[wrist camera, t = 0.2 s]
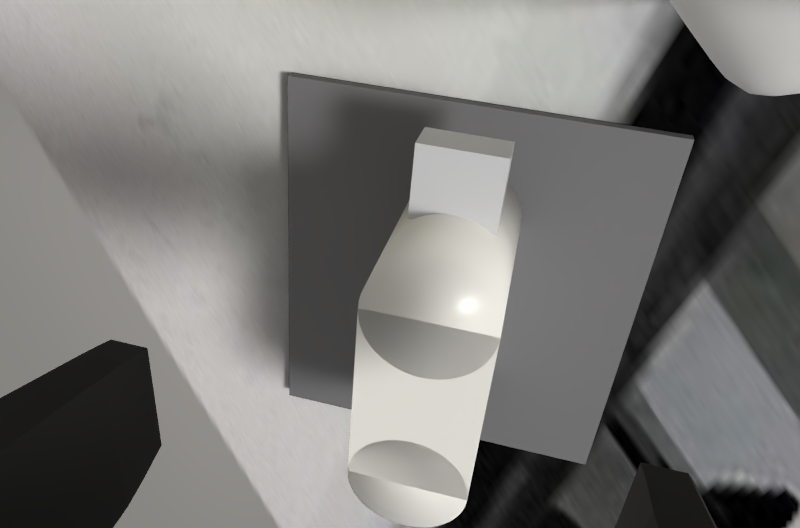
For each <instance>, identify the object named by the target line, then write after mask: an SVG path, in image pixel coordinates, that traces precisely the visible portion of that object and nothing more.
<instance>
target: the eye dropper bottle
mask: <svg viewBox="0 0 800 528" xmlns="http://www.w3.org/2000/svg"><path fill="white" fill-rule="evenodd" d="M669 1H670V2H671V4H672V6H673V7H674V8H675V10H676V11H677V13H678V14H679V16H680V17H681V18H682V20H683V21H684V23H685V24H686V26H687V27H688V28H689V30H690V31H691V33H692V34H693V35H694V37H695V38H696V40H697V41H698V43H699V44H700V45H701V47H702V48H703V50H704V51H705V52H706V54H707V55H708V56H709V58H710V59H711V61H712V62H713V63H714V64H715V66H716V67H717V68H718V69H719V71H720V72H721V73H722V74H723V76H724V77H725V78H726V79H728V80H729V81H731V82H732V83H734V84H735V85H737V86H738V87H740V88H741V89H743V90H744V91H746V92H748V93H749V94H758V95H768V96H781V95H789V94H797V93H800V0H669Z"/></svg>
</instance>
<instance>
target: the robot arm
mask: <svg viewBox="0 0 800 528" xmlns="http://www.w3.org/2000/svg"><path fill="white" fill-rule="evenodd" d="M160 447H161V439H160V432H159V425H158V419H157V412H156V404H155V397H154V391H153V384H152V377H151V370H150V363H149V356H148V351H147V348H144V347H140V346H136V345H131V344H127V343H123V342H119V341H114V340H109V341H107V342H105V343H103V344H101V345H99V346H97V347H95V348H93V349H91V350H89V351H87V352H85V353H83V354H81V355H79V356H78V357H76V358H74V359H72V360H70V361H69V362H66V363H64V364H63V365H61V366H59V367H57V368H56V369H53V370H52V371H50V372H48V373H46V374H44V375H42V376H41V377H39V378H37V379H35V380H33V381H32V382H29V383H28V384H26V385H24V386H22V387H20V388H18V389H17V390H15V391H13V392H11V393H9V394H7V395H5V396H3V397H2V398H0V528H113V527H114V525H115V524H116V523H117V521H118V520H119V518H120V517H121V515H122V514H123V513H124V511H125V510H126V508H127V507H128V505H129V503H130V502H131V500H132V498H133V496H134V495H135V493H136V491H137V489H138V488H139V486H140V484H141V482H142V481H143V479H144V477H145V475H146V473H147V471H148V470H149V468H150V466H151V464H152V462H153V460H154V458H155V456H156V454H157V453H158V451H159V449H160ZM615 528H717V527H716V525H715V523H714V521H713V519H712V517H711V515H710V513H709V511H708V509H707V507H706V505H705V503H704V501H703V499H702V497H701V495H700V493H699V491H698V489H697V487H696V485H695V483H694V481H693V480H692V478H691V477H690V475H689V474H688V473H684V472H680V471H675V470H671V469H667V468H662V467H658V466H654V465H649V464H645V463H640V466H639V468H638V471H637V473H636V476H635V478H634V481H633V483H632V486H631V488H630V491H629V493H628V496H627V499H626V501H625V504H624V506H623V509H622V511H621V514H620V516H619V519H618V521H617V524H616V526H615Z"/></svg>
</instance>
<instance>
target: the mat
mask: <svg viewBox="0 0 800 528" xmlns="http://www.w3.org/2000/svg"><path fill="white" fill-rule="evenodd" d="M425 127H429V128H435V129H441V130H447V131H453V132H459V133H465V134H471V135H477V136H483V137H489V138H495V139H501V140H508V141H514V142H515V145H514V150H513V155H512V161H511V166H510V172H509V177H508V183H509V184H510V185H511V187H512V188H513V190H514V191H515V193H516V195H517V197H518V199H519V202H520V206H521V212H522V220H521V227H520V232H519V238H518V244H517V249H516V255H515V260H514V266H513V272H512V277H511V283H510V288H509V294H508V300H507V305H506V311H505V316H504V322H503V328H502V333H501V339H500V344H499V348H498V353H497V358H496V363H495V368H494V372H493V377H492V382H491V387H490V392H489V397H488V401H487V406H486V411H485V416H484V421H483V426H482V430H481V435H480V440H483V441H488V442H492V443H496V444H500V445H505V446H509V447H513V448H517V449H522V450H526V451H530V452H534V453H539V454H543V455H547V456H551V457H556V458H560V459H564V460H568V461H573V462H577V463H581V464H586V461H587V458H588V455H589V452H590V449H591V446H592V443H593V440H594V437H595V434H596V431H597V428H598V425H599V422H600V419H601V416H602V413H603V410H604V407H605V404H606V401H607V398H608V395H609V392H610V390H611V387H612V384H613V381H614V378H615V375H616V372H617V369H618V366H619V363H620V360H621V357H622V354H623V351H624V348H625V345H626V342H627V339H628V336H629V333H630V330H631V327H632V324H633V321H634V318H635V315H636V312H637V309H638V306H639V303H640V300H641V297H642V294H643V291H644V288H645V285H646V282H647V279H648V276H649V273H650V270H651V267H652V264H653V261H654V258H655V255H656V252H657V249H658V246H659V244H660V241H661V238H662V235H663V232H664V229H665V226H666V223H667V220H668V217H669V214H670V211H671V208H672V205H673V202H674V199H675V196H676V193H677V190H678V187H679V184H680V181H681V178H682V175H683V172H684V169H685V166H686V163H687V160H688V157H689V154H690V151H691V148H692V145H693V142H694V138H693V135H687V134H680V133H674V132H667V131H661V130H655V129H648V128H642V127H636V126H629V125H623V124H616V123H610V122H604V121H597V120H591V119H584V118H578V117H572V116H565V115H559V114H553V113H546V112H540V111H533V110H527V109H521V108H514V107H508V106H501V105H495V104H489V103H482V102H476V101H470V100H463V99H457V98H450V97H444V96H438V95H431V94H425V93H419V92H412V91H406V90H399V89H393V88H387V87H380V86H374V85H367V84H361V83H355V82H348V81H342V80H336V79H329V78H323V77H316V76H310V75H304V74H297V73H291V74H289V75H288V220H289V381H290V395H292V396H296V397H300V398H305V399H309V400H313V401H317V402H322V403H326V404H330V405H335V406H339V407H343V408H347V409H352V395H353V379H354V363H355V346H356V330H357V314H358V303H359V298H360V295H361V292H362V290H363V288H364V286H365V284H366V282H367V281H368V279H369V277H370V275H371V273H372V271H373V269H374V267H375V265H376V263H377V261H378V259H379V258H380V256H381V254H382V252H383V250H384V248H385V246H386V244H387V242H388V240H389V238H390V236H391V234H392V233H393V231H394V229H395V227H396V225H397V223H398V221H399V219H400V217H401V215H402V213H403V211H404V209H405V208H406V206H407V204H408V202H409V200H410V190H411V180H412V170H413V160H414V150H415V142H416V141H417V139H418V137H419V136H420V134H421V132H422V131H423V129H424V128H425Z"/></svg>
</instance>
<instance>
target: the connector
mask: <svg viewBox="0 0 800 528" xmlns="http://www.w3.org/2000/svg"><path fill="white" fill-rule="evenodd" d="M514 145H515V142H514V141H508V140H501V139H495V138H489V137H483V136H477V135H471V134H465V133H459V132H453V131H447V130H441V129H435V128H429V127H425V128H424V129H423V131H422V132H421V134H420V136H419V137H418V139H417V141H416V142H415V150H414V160H413V170H412V180H411V190H410V200H409V202H408V204H407V206H406V208H405V209H404V211H403V213H402V215H401V217H400V219H399V221H398V223H397V225H396V227H395V229H394V231H393V233H392V234H391V236H390V238H389V240H388V242H387V244H386V246H385V248H384V250H383V252H382V254H381V256H380V258H379V259H378V261H377V263H376V265H375V267H374V269H373V271H372V273H371V275H370V277H369V279H368V281H367V282H366V284H365V286H364V288H363V290H362V292H361V295H360V298H359V303H358V314H357V330H356V346H355V363H354V379H353V395H352V412H351V428H350V444H349V461H348V478H349V483H350V485H351V488H352V490H353V491H354V493H355V494H356V496H357V497H358V499H359V500H360V501H361V502H362V503H363V504H364V505H365V506H366V507H368V508H369V509H370V510H372V511H373V512H374V513H376V514H378V515H379V516H381V517H383V518H385V519H387V520H390V521H392V522H395V523H398V524H402V525H406V526H412V527H433V526H439V525H442V524H445V523H447V522H450V521H451V520H453V519H455V518H456V517H457V516H458V515H459V514H460V513H461V512H462V511H463V509H464V507H465V505H466V502H467V498H468V493H469V488H470V483H471V479H472V474H473V469H474V464H475V459H476V454H477V450H478V445H479V440H480V435H481V430H482V426H483V421H484V416H485V411H486V406H487V401H488V397H489V392H490V387H491V382H492V377H493V372H494V368H495V363H496V358H497V353H498V348H499V344H500V339H501V333H502V328H503V322H504V316H505V311H506V305H507V300H508V294H509V288H510V283H511V277H512V272H513V266H514V260H515V255H516V249H517V244H518V238H519V232H520V227H521V220H522V212H521V206H520V202H519V199H518V197H517V195H516V193H515V191H514V190H513V188H512V187H511V185H510V184H509V183H508V177H509V172H510V166H511V161H512V155H513V150H514Z"/></svg>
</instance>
